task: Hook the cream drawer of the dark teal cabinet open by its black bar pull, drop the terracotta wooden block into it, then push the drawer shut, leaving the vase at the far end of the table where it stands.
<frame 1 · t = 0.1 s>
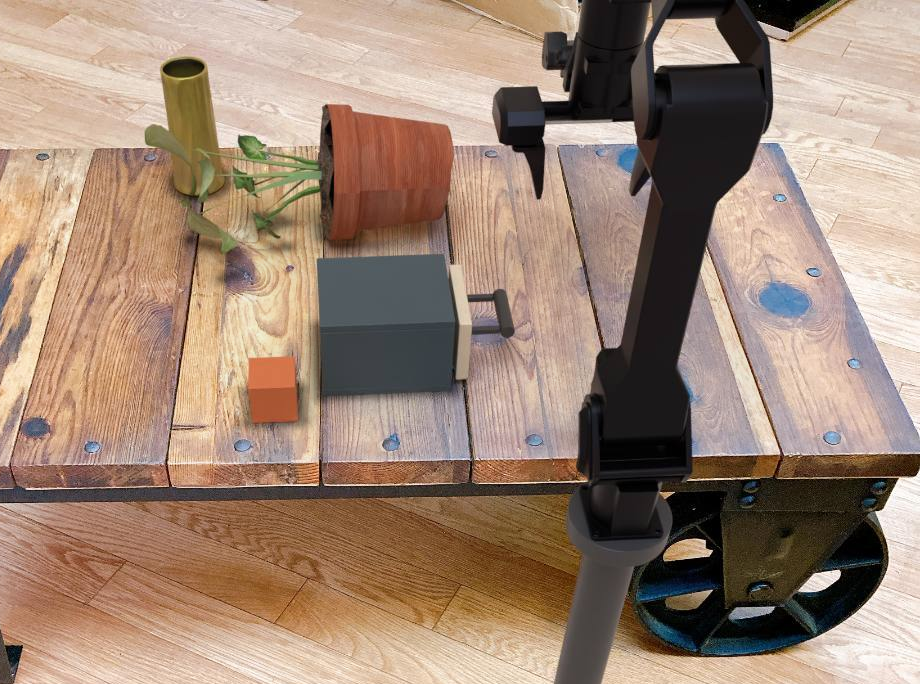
hand: (585, 195, 107), 14 cm above the table, tool pointing down, fingers open, 9 cm apart
potted plant: (293, 235, 126), on the table
drawer: (429, 322, 109), point 4 cm above the table, slide at 0.5 cm
vase: (199, 184, 133), on the table
block: (275, 406, 107), on the table
cabinet: (383, 358, 112), on the table
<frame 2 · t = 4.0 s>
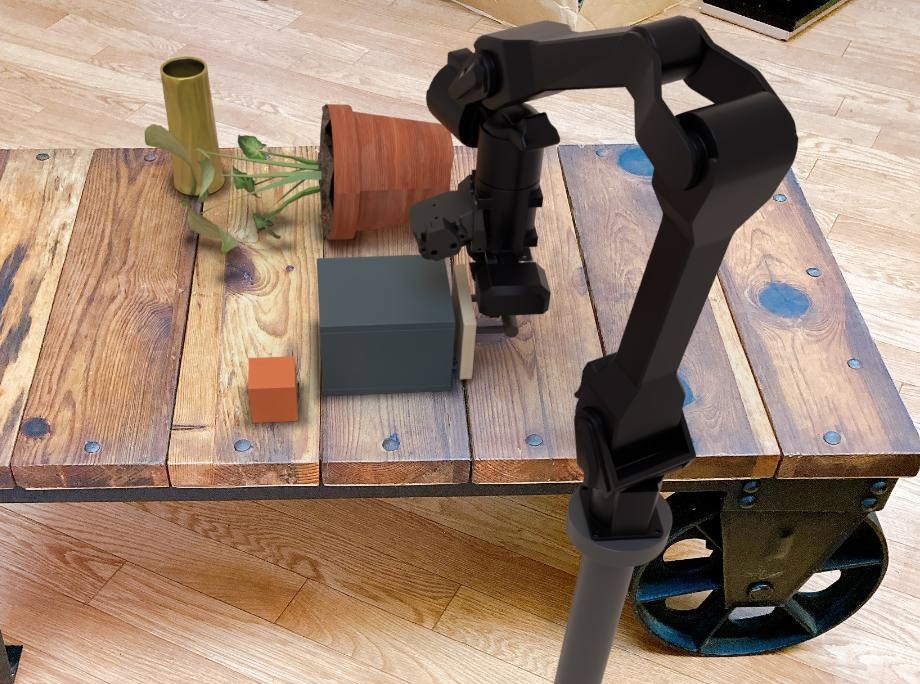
hand: (493, 315, 109), 5 cm above the table, tool pointing down, fingers closed
drawer: (433, 322, 109), point 4 cm above the table, slide at 0.9 cm
everything else where it was.
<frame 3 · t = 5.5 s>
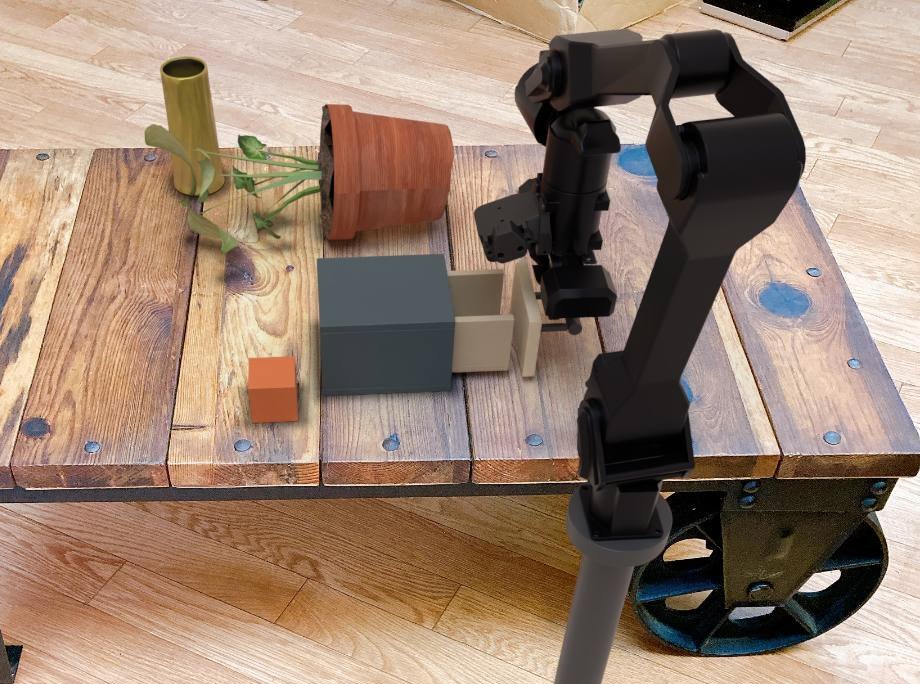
hand: (553, 317, 110), 4 cm above the table, tool pointing down, fingers closed, pressing on drawer
drawer: (495, 320, 109), point 4 cm above the table, slide at 7.1 cm, touching gripper
everything else where it was.
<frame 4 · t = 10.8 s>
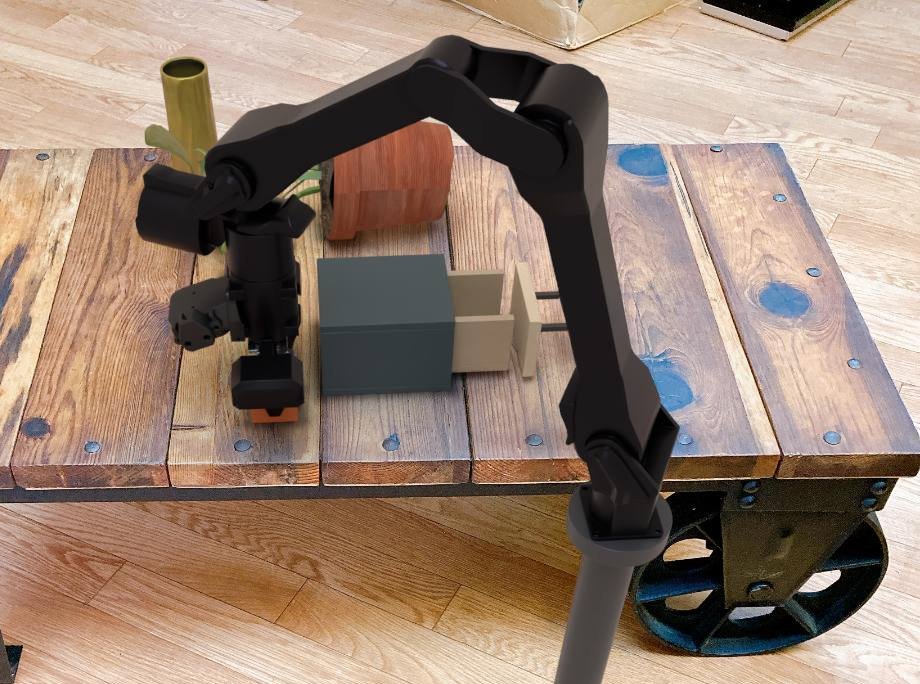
hand: (274, 398, 107), 1 cm above the table, tool pointing down, fingers closed on block, 4 cm apart
drawer: (495, 320, 109), point 4 cm above the table, slide at 7.1 cm
block: (275, 406, 107), on the table, touching gripper
everything else where it was.
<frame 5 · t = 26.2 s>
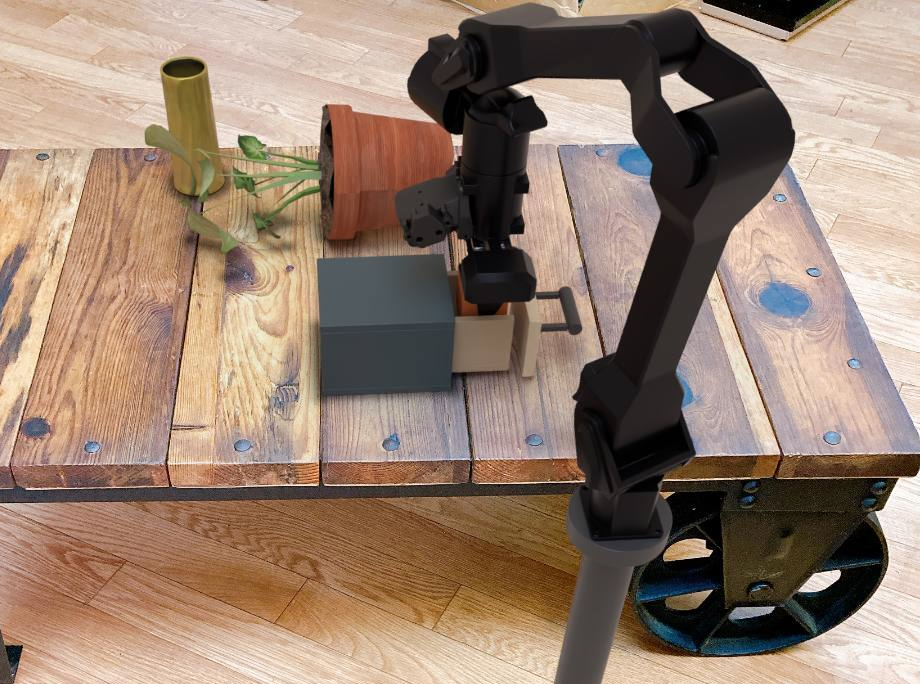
hand: (481, 304, 108), 6 cm above the table, tool pointing down, fingers closed on block, 4 cm apart
drawer: (495, 320, 109), point 4 cm above the table, slide at 7.1 cm, touching gripper
block: (480, 313, 108), point 5 cm above the table, touching gripper
everything else where it was.
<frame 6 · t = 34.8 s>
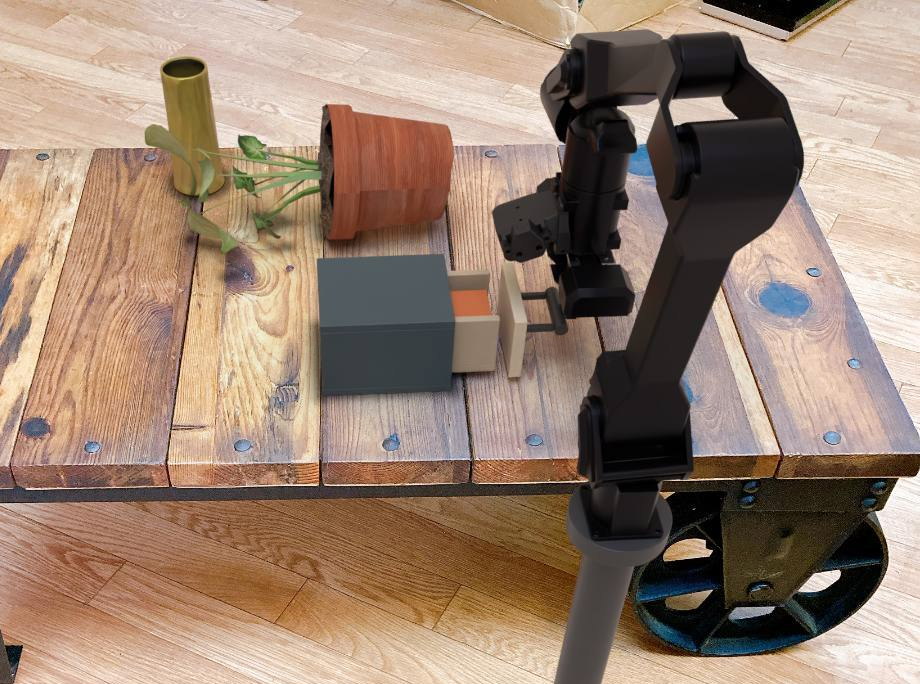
hand: (570, 317, 110), 4 cm above the table, tool pointing down, fingers closed, pressing on drawer
drawer: (481, 320, 109), point 4 cm above the table, slide at 5.7 cm, touching block, gripper
block: (464, 339, 111), point 2 cm above the table, touching drawer
everything else where it was.
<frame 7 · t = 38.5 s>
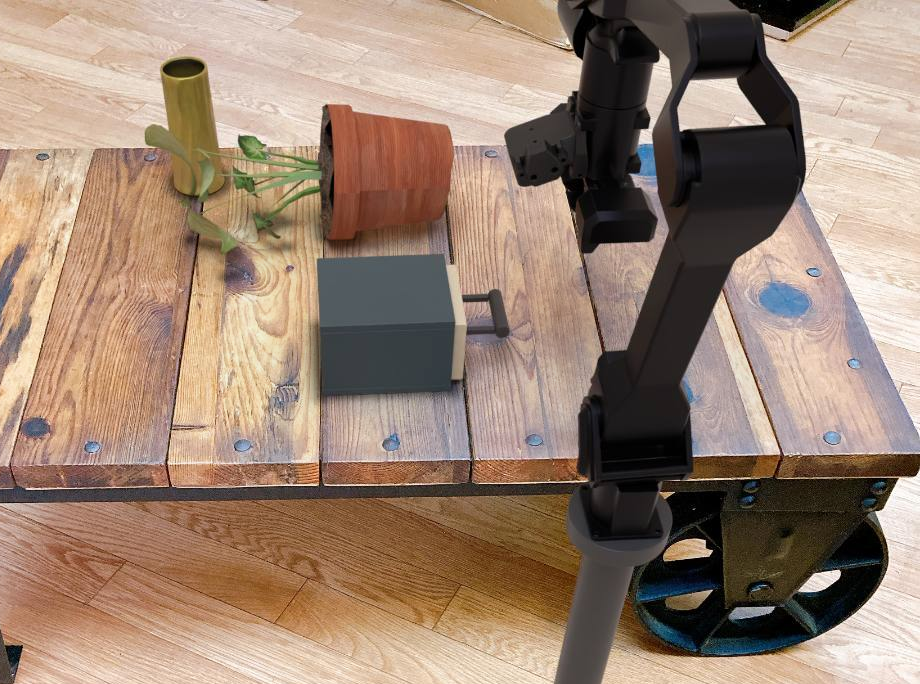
hand: (585, 251, 104), 12 cm above the table, tool pointing down, fingers closed
drawer: (424, 323, 109), point 4 cm above the table, slide at 0.0 cm, touching block, cabinet
block: (407, 341, 111), point 2 cm above the table, touching drawer
everything else where it was.
at the end: block inside the target area in the cabinet (2.4 cm from its centre), point 2.0 cm above the cabinet's base; drawer slide at 0.0 cm; vase moved 0.2 cm from its start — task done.
